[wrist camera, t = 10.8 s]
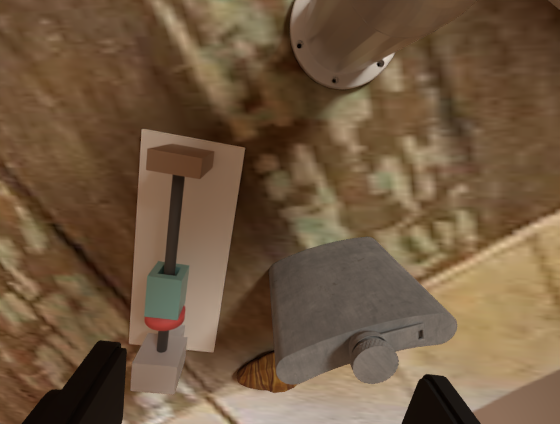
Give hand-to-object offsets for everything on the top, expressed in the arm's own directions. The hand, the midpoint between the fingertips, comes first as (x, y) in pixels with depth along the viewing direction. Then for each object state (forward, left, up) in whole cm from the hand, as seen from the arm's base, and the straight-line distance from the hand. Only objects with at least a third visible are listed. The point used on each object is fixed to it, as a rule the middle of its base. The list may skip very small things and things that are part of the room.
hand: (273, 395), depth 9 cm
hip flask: (+8, +10, -31) cm, 33 cm away
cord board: (+10, -9, -30) cm, 33 cm away
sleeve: (+12, -9, -25) cm, 29 cm away
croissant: (+26, +7, -31) cm, 41 cm away
